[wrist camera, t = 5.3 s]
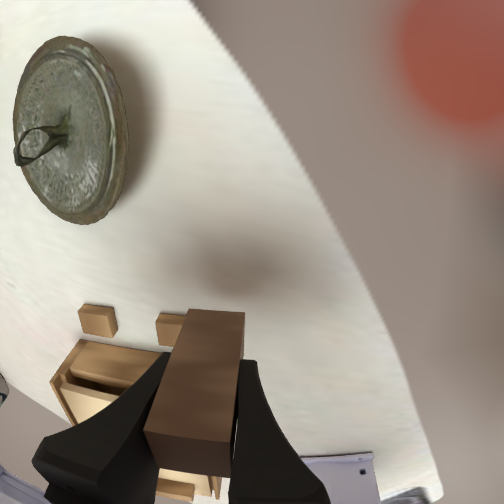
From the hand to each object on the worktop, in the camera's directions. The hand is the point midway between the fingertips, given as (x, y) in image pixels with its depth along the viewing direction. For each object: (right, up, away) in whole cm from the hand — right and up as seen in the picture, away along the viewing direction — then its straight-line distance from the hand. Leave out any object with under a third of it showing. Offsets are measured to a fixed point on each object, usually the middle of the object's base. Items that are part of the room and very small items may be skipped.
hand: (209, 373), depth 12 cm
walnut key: (0, +1, +2) cm, 3 cm away
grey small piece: (-8, +12, +3) cm, 15 cm away
